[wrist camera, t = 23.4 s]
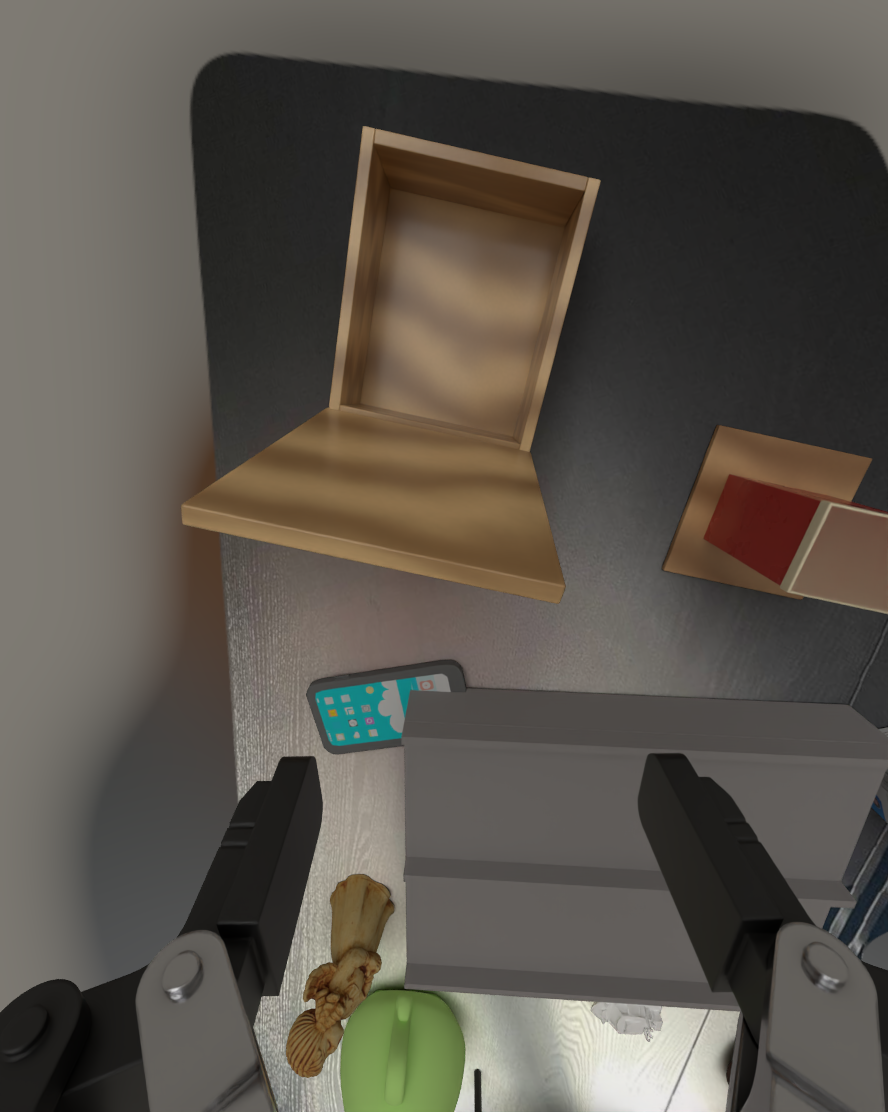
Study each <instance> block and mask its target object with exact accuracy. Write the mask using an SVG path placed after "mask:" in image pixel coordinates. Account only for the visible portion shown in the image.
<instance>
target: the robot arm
mask: <svg viewBox="0 0 888 1112" xmlns="http://www.w3.org/2000/svg"><path fill="white" fill-rule="evenodd" d="M322 812H323V801H322V794H321V788H320V782H319V775H318V769H317V763H316V759H315V757H314V756H296V757H282V758H281V759H280V761H279V763H278V766H277V768H276V771H275V773H274V776H273V779H272V781H257V782H256V783H255V784H254V785H253V786H252V788H251V789H250V790H249V791H248V792H247V793H246V794H245V795H244V797H243V798H242V799H241V800H240V801H239V804H238V806H237V808H236V810H235V813H234V815H233V817H232V819H231V822H230V826H229V828H227V831H226V833H225V835H224V838H223V840H222V842H221V847H219V849H218V851H217V854H216V856H215V858H214V860H213V862H212V865H211V867H210V869H209V871H208V874H207V876H206V878H205V881H204V883H203V885H202V887H201V890H200V892H199V894H198V896H197V899H196V901H195V903H194V905H193V908H192V910H191V913H190V915H189V917H188V919H187V921H186V923H185V925H184V927H183V929H182V930H181V932H180V934H179V935H178V936H177V938H176V939H174V940H173V941H171V942H170V943H169V944H167V945H166V946H165V947H164V948H163V949H162V950H161V951H160V952H159V953H158V954H157V955H156V956H155V957H154V958H153V960H152V961H151V963H149V964H148V965H147V966H145V967H143V968H141V969H140V970H138V971H135V972H133V973H131V974H128V975H126V976H123V977H120V978H118V979H115V980H112V981H110V982H107V983H104V984H101V985H99V986H96V987H94V988H91V989H88V990H85V991H83V992H80V990H79V989H78V987H77V986H76V985H75V984H74V983H73V982H71V981H68V980H65V979H56V980H50V981H47V982H44V983H41V984H39V985H37V986H35V987H33V988H31V989H29V990H28V991H26V992H24V993H23V994H21V995H20V996H19V997H17V998H16V999H15V1000H13V1001H12V1002H11V1003H10V1004H9V1005H8V1006H7V1007H5V1008H4V1009H3V1010H2V1011H1V1012H0V1112H279V1111H278V1107H277V1104H276V1101H275V1097H274V1094H273V1091H272V1088H271V1084H270V1081H269V1078H268V1075H267V1071H266V1068H265V1065H264V1061H263V1058H262V1055H261V1052H260V1048H259V1045H258V1042H257V1038H256V1035H255V1032H254V1029H253V1026H254V1023H255V1019H256V1015H257V1012H258V1008H259V1004H260V1001H261V997H262V996H279V992H280V988H281V984H282V980H283V976H284V972H285V968H286V964H287V960H288V956H289V952H290V948H291V944H292V940H293V936H294V932H295V928H296V924H297V920H298V916H299V912H300V908H301V904H302V900H303V896H304V892H305V888H306V884H307V880H308V876H309V872H310V868H311V864H312V860H313V856H314V852H315V848H316V844H317V840H318V836H319V832H320V827H321V821H322ZM638 812H639V817H640V821H641V824H642V827H643V829H644V832H645V834H646V836H647V839H648V841H649V843H650V846H651V848H652V851H653V853H654V855H655V858H656V860H657V863H658V865H659V867H660V870H661V872H662V874H663V877H664V879H665V882H666V884H667V886H668V889H669V891H670V893H671V896H672V898H673V901H674V903H675V905H676V908H677V910H678V912H679V915H680V917H681V920H682V922H683V924H684V927H685V929H686V931H687V934H688V936H689V939H690V941H691V943H692V946H693V948H694V950H695V953H696V955H697V958H698V960H699V962H700V965H701V967H702V969H703V972H704V974H705V977H706V979H707V981H708V984H709V986H710V988H711V991H712V992H733V994H734V996H735V998H736V1000H737V1003H738V1005H739V1007H740V1009H741V1012H740V1014H739V1018H738V1024H737V1032H736V1039H735V1046H734V1053H733V1061H732V1068H731V1075H730V1082H729V1089H728V1097H727V1104H726V1111H725V1112H888V970H885V969H882V968H878V967H875V966H873V965H870V964H868V963H865V962H863V961H861V960H859V958H858V957H857V956H856V955H855V954H854V953H853V952H852V951H851V950H850V948H848V947H847V946H846V945H845V944H844V943H843V942H842V941H840V940H839V939H838V938H836V937H835V936H834V935H832V934H830V933H829V932H827V931H825V930H823V929H821V928H819V927H817V926H816V925H815V924H814V922H813V921H812V920H811V918H810V917H809V916H808V914H807V913H806V911H805V910H804V908H803V906H802V905H801V903H800V902H799V900H798V899H797V897H796V896H795V894H794V893H793V891H792V889H791V888H790V886H789V885H788V883H787V882H786V880H785V879H784V877H783V876H782V874H781V872H780V871H779V869H778V868H777V866H776V865H775V863H774V862H773V860H772V859H771V857H770V855H769V854H768V852H767V851H766V849H765V848H764V846H763V845H762V843H761V842H759V841H758V837H757V835H756V834H755V832H754V831H753V829H752V828H751V826H750V825H749V823H747V822H746V818H745V817H744V815H743V814H742V812H741V811H740V809H739V807H738V806H737V804H736V803H735V801H734V800H733V798H732V797H731V795H729V794H728V793H727V792H726V791H725V790H724V789H723V788H722V787H721V786H719V785H718V784H717V783H716V782H715V781H714V780H713V779H712V778H711V777H699V776H698V775H697V773H696V771H695V770H694V768H693V766H692V765H691V763H690V761H689V760H688V758H687V757H686V756H685V755H684V754H682V753H650V754H648V756H647V758H646V762H645V767H644V771H643V776H642V780H641V785H640V789H639V794H638Z"/></svg>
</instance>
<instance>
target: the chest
mask: <svg viewBox="0 0 888 1112" xmlns="http://www.w3.org/2000/svg"><path fill="white" fill-rule="evenodd" d="M599 185H600V180H598V179H594V178H588V177H585V176H580V175H576V174H572V173H567V172H563V171H558V170H554V169H550V168H545V167H541V166H537V165H532V164H528V163H523V162H519V161H515V160H510V159H506V158H502V157H497V156H493V155H488V154H484V153H480V152H475V151H471V150H467V149H462V148H458V147H453V146H449V145H445V144H440V143H436V142H431V141H427V140H423V139H418V138H414V137H410V136H405V135H401V134H396V133H392V132H388V131H383V130H379V129H376V130H375V129H374V128H370V127H366V126H363V130H362V138H361V146H360V155H359V163H358V171H357V179H356V188H355V196H354V204H353V213H352V221H351V229H350V238H349V246H348V254H347V263H346V271H345V279H344V287H343V296H342V304H341V312H340V321H339V329H338V337H337V346H336V354H335V362H334V370H333V379H332V387H331V395H330V404H329V408H330V409H335V410H340V411H344V412H349V413H353V414H358V415H363V416H367V417H372V418H376V419H381V420H386V421H390V422H395V423H399V424H404V425H409V426H413V427H418V428H422V429H427V430H432V431H436V432H441V433H445V434H450V435H455V436H459V437H464V438H468V439H473V440H478V441H482V442H487V443H491V444H496V445H501V446H505V447H510V448H514V449H519V450H523V451H528V452H530V448H531V445H532V441H533V437H534V433H535V429H536V425H537V422H538V418H539V414H540V410H541V406H542V403H543V399H544V395H545V391H546V387H547V384H548V380H549V376H550V372H551V368H552V364H553V361H554V357H555V353H556V349H557V345H558V342H559V338H560V334H561V330H562V326H563V323H564V319H565V315H566V311H567V307H568V303H569V300H570V296H571V292H572V288H573V284H574V281H575V277H576V273H577V269H578V265H579V262H580V258H581V254H582V250H583V246H584V242H585V239H586V235H587V231H588V227H589V223H590V220H591V216H592V212H593V208H594V204H595V201H596V197H597V193H598V189H599Z"/></svg>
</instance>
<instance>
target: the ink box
mask: <svg viewBox="0 0 888 1112" xmlns="http://www.w3.org/2000/svg"><path fill="white" fill-rule="evenodd" d="M879 730H880V731H881V732H882V733H884V734H885V735H886V736H887V737H888V727H886V728H882V729H879ZM871 807H872V808H873V809H874V810H875V811H876V812H877V813H878V814H879V815H880V816H881V817H882V818H883V819H884V820H885V821H886V822H887V823H888V768H887V769H886V772H885V774H884V777H883V779H882V781H881V784H880V786H879V789H878V791H877V794H876V796H875V799H874V801H873V804H872V806H871Z"/></svg>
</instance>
